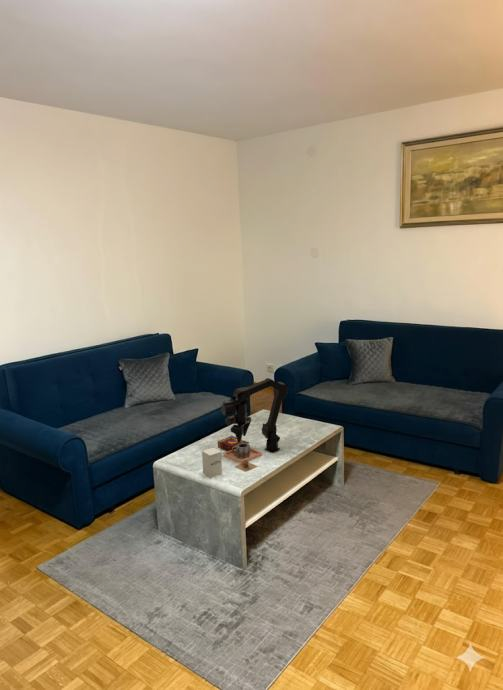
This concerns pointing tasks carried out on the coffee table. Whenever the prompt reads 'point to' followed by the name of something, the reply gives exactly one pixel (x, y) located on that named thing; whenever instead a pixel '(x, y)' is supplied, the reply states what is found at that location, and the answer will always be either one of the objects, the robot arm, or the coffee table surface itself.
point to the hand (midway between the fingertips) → (241, 438)
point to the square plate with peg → (246, 466)
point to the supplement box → (212, 462)
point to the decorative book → (229, 443)
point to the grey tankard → (242, 450)
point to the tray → (252, 456)
